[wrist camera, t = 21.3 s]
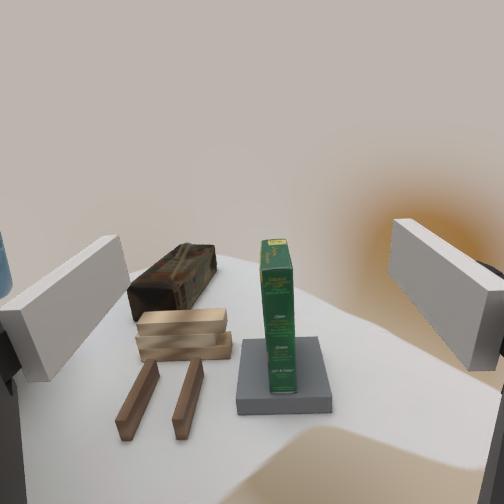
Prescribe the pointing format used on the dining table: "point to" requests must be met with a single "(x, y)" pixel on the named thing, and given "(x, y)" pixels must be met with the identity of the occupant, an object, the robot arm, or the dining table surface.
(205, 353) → the offcut stack
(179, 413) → the walnut rack
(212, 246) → the beverage carton
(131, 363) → the dining table surface
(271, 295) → the coffee box
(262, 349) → the stand pad
